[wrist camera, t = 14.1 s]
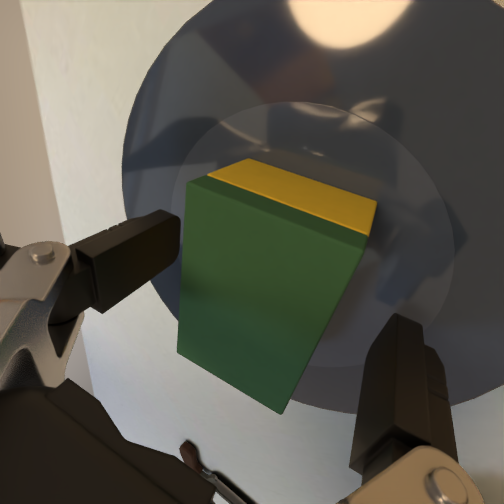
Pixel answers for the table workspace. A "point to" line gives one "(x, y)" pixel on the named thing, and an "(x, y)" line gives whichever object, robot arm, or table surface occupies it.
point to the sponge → (264, 273)
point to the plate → (350, 159)
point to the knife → (191, 460)
